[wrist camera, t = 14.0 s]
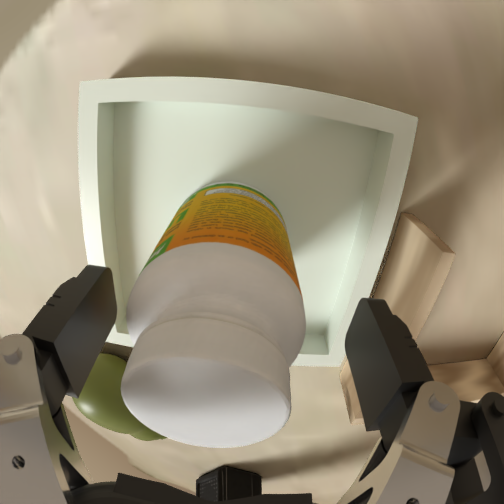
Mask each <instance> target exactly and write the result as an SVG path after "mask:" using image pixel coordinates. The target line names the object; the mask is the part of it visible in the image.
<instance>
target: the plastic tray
mask: <svg viewBox="0 0 504 504" xmlns="http://www.w3.org/2000/svg"><path fill="white" fill-rule="evenodd" d="M417 124H418V117H415V116H412V115H409V114H406V113H403V112H400V111H396V110H393V109H390V108H386V107H383V106H379V105H376V104H372V103H368V102H364V101H360V100H356V99H352V98H348V97H344V96H339V95H335V94H330V93H325V92H320V91H315V90H310V89H304V88H298V87H292V86H285V85H279V84H271V83H264V82H255V81H246V80H235V79H222V78H205V77H131V78H114V79H102V80H92V81H83V82H80V86H79V104H78V170H79V188H80V201H81V213H82V222H83V231H84V239H85V246H86V253H87V260H88V265H89V264H90V265H96V266H103V267H109V268H110V269H111V271H112V274H113V282H114V289H115V296H116V302H117V317H116V321H115V324H114V326H113V328H112V330H111V332H110V334H109V336H108V338H107V339H106V341H105V342H109V343H114V344H119V345H124V346H129V347H134V345H133V343H132V341H131V338H130V335H129V332H128V328H127V321H126V311H127V304H128V299H129V296H130V293H131V290H132V288H133V286H134V284H135V282H136V280H137V278H138V276H139V274H140V273H141V271H142V269H143V268H144V266H145V264H146V263H147V261H148V259H149V257H150V256H151V254H152V252H153V251H154V249H155V247H156V245H157V244H158V242H159V240H160V239H161V237H162V235H163V234H164V232H165V230H166V229H167V227H168V225H169V224H170V222H171V221H172V219H173V217H174V216H175V214H176V212H177V211H178V209H179V208H180V206H181V205H182V204H183V202H184V201H185V200H186V199H187V198H188V197H189V196H190V195H191V194H192V193H194V192H195V191H197V190H198V189H200V188H202V187H204V186H207V185H210V184H213V183H218V182H239V183H244V184H247V185H250V186H252V187H255V188H256V189H258V190H260V191H262V192H263V193H264V194H266V195H267V196H268V197H269V198H270V199H271V200H272V201H273V202H274V203H275V204H276V206H277V207H278V208H279V210H280V212H281V214H282V216H283V219H284V222H285V225H286V229H287V233H288V237H289V242H290V246H291V251H292V255H293V259H294V263H295V268H296V272H297V276H298V281H299V285H300V289H301V293H302V298H303V303H304V309H305V318H306V332H305V338H304V342H303V345H302V348H301V350H300V353H299V354H298V356H297V358H296V359H295V361H294V362H293V363H292V365H294V366H325V367H340V365H341V363H342V361H343V359H344V356H345V354H346V352H345V337H346V333H347V330H348V328H349V325H350V323H351V320H352V318H353V315H354V313H355V310H356V308H357V305H358V303H359V301H360V299H361V298H369V296H370V293H371V290H372V288H373V285H374V282H375V279H376V276H377V274H378V271H379V268H380V265H381V262H382V259H383V256H384V253H385V250H386V247H387V244H388V240H389V237H390V234H391V231H392V227H393V224H394V221H395V217H396V214H397V210H398V206H399V203H400V199H401V195H402V192H403V188H404V184H405V180H406V176H407V171H408V167H409V163H410V158H411V154H412V149H413V144H414V139H415V134H416V129H417Z"/></svg>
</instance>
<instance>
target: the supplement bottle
mask: <svg viewBox="0 0 504 504" xmlns="http://www.w3.org/2000/svg"><path fill="white" fill-rule="evenodd" d="M126 321H127V328H128V332H129V335H130V338H131V341H132V343H133V345H134V347H133V349H132V352H131V354H130V357H129V360H128V362H127V365H126V368H125V371H124V374H123V377H122V381H121V395H122V398H123V401H124V403H125V405H126V406H127V408H128V409H129V411H130V412H131V413H132V414H133V415H134V416H135V417H136V418H137V419H138V420H139V421H140V422H141V423H143V424H144V425H145V426H147V427H148V428H150V429H151V430H153V431H155V432H157V433H159V434H161V435H163V436H165V437H168V438H170V439H173V440H176V441H179V442H182V443H186V444H190V445H194V446H201V447H211V448H230V447H240V446H246V445H250V444H254V443H257V442H260V441H263V440H265V439H267V438H269V437H271V436H273V435H274V434H276V433H277V432H278V431H280V430H281V429H282V428H283V427H284V425H285V424H286V422H287V421H288V419H289V416H290V413H291V392H290V373H289V367H290V366H291V365H292V363H293V362H294V361H295V359H296V358H297V356H298V354H299V353H300V350H301V348H302V345H303V342H304V338H305V332H306V318H305V309H304V303H303V298H302V293H301V289H300V285H299V281H298V276H297V272H296V268H295V263H294V259H293V255H292V251H291V246H290V242H289V237H288V233H287V229H286V225H285V222H284V219H283V216H282V214H281V212H280V210H279V208H278V207H277V206H276V204H275V203H274V202H273V201H272V200H271V199H270V198H269V197H268V196H267V195H266V194H264V193H263V192H262V191H260V190H258V189H256V188H255V187H252V186H250V185H247V184H244V183H239V182H218V183H213V184H210V185H207V186H204V187H202V188H200V189H198V190H197V191H195V192H194V193H192V194H191V195H190V196H189V197H188V198H187V199H186V200H185V201H184V202H183V204H182V205H181V206H180V208H179V209H178V211H177V212H176V214H175V216H174V217H173V219H172V221H171V222H170V224H169V225H168V227H167V229H166V230H165V232H164V234H163V235H162V237H161V239H160V240H159V242H158V244H157V245H156V247H155V249H154V251H153V252H152V254H151V256H150V257H149V259H148V261H147V263H146V264H145V266H144V268H143V269H142V271H141V273H140V274H139V276H138V278H137V280H136V282H135V284H134V286H133V288H132V290H131V293H130V296H129V299H128V304H127V311H126Z"/></svg>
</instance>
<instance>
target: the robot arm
mask: <svg viewBox="0 0 504 504" xmlns="http://www.w3.org/2000/svg"><path fill="white" fill-rule="evenodd" d="M116 317H117V302H116V296H115V289H114V282H113V274H112V271H111V269H110V268H109V267H103V266H96V265H90V264H89V265H87V266H86V267H85V268H84V269H83V270H82V272H81V273H80V274H79V275H78V276H77V278H75V277H73V278H71V279H69V280H68V281H66V282H65V283H63V284H61V285H60V286H59V288H58V289H57V290H56V291H55V292H54V294H53V297H50V299H49V300H48V301H47V302H46V305H44V306H43V307H42V309H41V310H40V311H39V312H38V314H37V315H36V316H35V318H34V319H33V320H32V322H31V323H30V324H29V326H28V327H27V328H26V330H25V331H24V332H23V334H11V335H8V336H5V337H3V338H2V339H0V504H317V503H312V493H306V494H262V495H257V496H252V497H246V498H240V499H233V500H226V501H216V502H215V501H209V500H206V499H203V498H200V497H197V496H195V495H192V494H189V493H187V492H184V491H181V490H179V489H176V488H174V487H172V486H169V485H167V484H164V483H160V482H155V481H150V480H146V479H142V478H137V477H133V476H129V475H126V474H122V473H118V477H117V481H116V482H100V483H94V481H93V479H92V477H91V475H90V473H89V471H88V469H87V467H86V466H85V464H84V462H83V461H82V458H81V456H80V454H79V451H78V449H77V446H76V443H75V440H74V438H73V435H72V432H71V429H70V425H69V422H68V419H67V416H66V412H65V410H64V406H63V404H62V401H63V399H64V397H65V395H68V396H71V397H74V398H77V399H78V398H79V395H80V393H81V391H82V389H83V387H84V385H85V382H86V380H87V378H88V376H89V374H90V372H91V370H92V368H93V366H94V364H95V361H96V359H97V357H98V355H99V353H100V351H101V349H102V347H103V345H104V343H105V341H106V339H107V338H108V336H109V334H110V332H111V330H112V328H113V326H114V324H115V321H116ZM412 337H413V336H412V334H411V332H410V331H409V329H408V327H407V325H406V324H405V323H404V322H403V321H402V320H401V319H400V318H399V317H398V316H397V315H393V314H392V312H391V310H390V308H389V306H388V304H387V302H386V301H385V300H384V299H375V298H361V299H360V301H359V303H358V305H357V308H356V310H355V313H354V315H353V318H352V320H351V323H350V325H349V328H348V330H347V333H346V337H345V352H346V355H347V359H348V362H349V366H350V370H351V373H352V377H353V381H354V384H355V388H356V392H357V396H358V399H359V403H360V407H361V411H362V415H363V419H364V423H365V427H366V431H375V430H380V433H381V437H380V438H379V439H378V441H377V442H376V444H375V446H374V448H373V450H372V452H371V454H370V455H369V457H368V459H367V461H366V463H365V464H364V466H363V468H362V470H361V471H360V473H359V475H358V476H357V478H356V480H355V481H354V483H353V484H352V486H351V487H350V488H349V490H348V491H347V492H346V493H345V494H344V495H343V496H342V498H341V499H340V500H339V501H338V502H337V504H504V396H502V395H501V394H499V393H496V392H488V393H486V394H485V395H484V396H483V397H482V398H481V399H480V401H479V402H478V403H473V402H467V401H461V400H459V398H458V396H457V394H456V393H455V391H454V390H453V389H452V388H451V387H449V386H448V385H446V384H444V383H442V382H439V381H434V379H433V376H432V374H431V372H430V370H429V368H428V366H427V364H426V362H425V360H424V358H423V356H422V354H421V352H420V350H419V348H417V344H416V342H415V340H414V339H412Z"/></svg>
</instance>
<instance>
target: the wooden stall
mask: <svg viewBox="0 0 504 504" xmlns="http://www.w3.org/2000/svg"><path fill="white" fill-rule="evenodd" d="M455 255H456V253H455V252H453V251H452V250H451V249H450V248H449V247H448V246H447V245H446V244H445V243H444V242H443V241H442V240H441V239H440V238H439V237H438V236H437V235H436V234H434V233H433V232H432V231H431V230H430V229H429V228H428V227H427V226H426V225H424V224H423V223H422V222H421V221H420V220H419V219H418V218H417V217H415V216H414V215H412V214H407V213H402V212H401V216H400V219H399V222H398V226H397V229H396V232H395V235H394V239H393V242H392V245H391V248H390V251H389V254H388V257H387V260H386V263H385V266H384V269H383V272H382V274H381V277H380V280H379V283H378V285H377V288H376V291H375V293H374V296H373V298H375V299H384V300H385V301H386V302H387V304H388V306H389V308H390V310H391V312H392V314H393V315H397V316H398V317H399V318H400V319H401V320H402V321H403V322H404V323H405V324H406V325H407V327H408V329H409V331H410V332H411V334H412V336H413V337H412V339H414V340H416V339H417V337H418V335H419V333H420V331H421V329H422V327H423V325H424V324H425V322H426V320H427V318H428V316H429V314H430V312H431V310H432V308H433V306H434V303H435V301H436V299H437V297H438V295H439V293H440V291H441V288H442V286H443V284H444V282H445V279H446V277H447V275H448V272H449V270H450V268H451V265H452V263H453V260H454V258H455ZM427 366H428V368H429V370H430V372H431V374H432V376H433V379H434V381H439V382H442V383H444V384H446V385H448V386H449V387H451V388H452V389H453V390H454V391H455V393H456V394H457V396H458V398H459V400H461V401H467V402H473V403H478V402H479V401H480V399H481V398H482V397H483V396H484V395H485V394H486V393H488V392H496V393H499V394H501V395H502V396H504V332H503V334H502V336H501V337H500V339H499V340H498V342H497V344H496V345H495V347H494V348H493V350H492V351H491V353H490V354H489V356H488V357H487V359H480V360H472V361H464V362H456V363H446V364H436V365H427ZM339 376H340V380H341V384H342V389H343V393H344V397H345V401H346V405H347V410H348V414H349V419H350V423H351V425H357V424H365V423H364V419H363V415H362V411H361V407H360V403H359V399H358V396H357V392H356V388H355V384H354V381H353V377H352V373H351V370H350V366H349V362H348V359H347V360H346V362H345V364H344V366H343V369H342V371H341V373H340V375H339Z"/></svg>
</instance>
